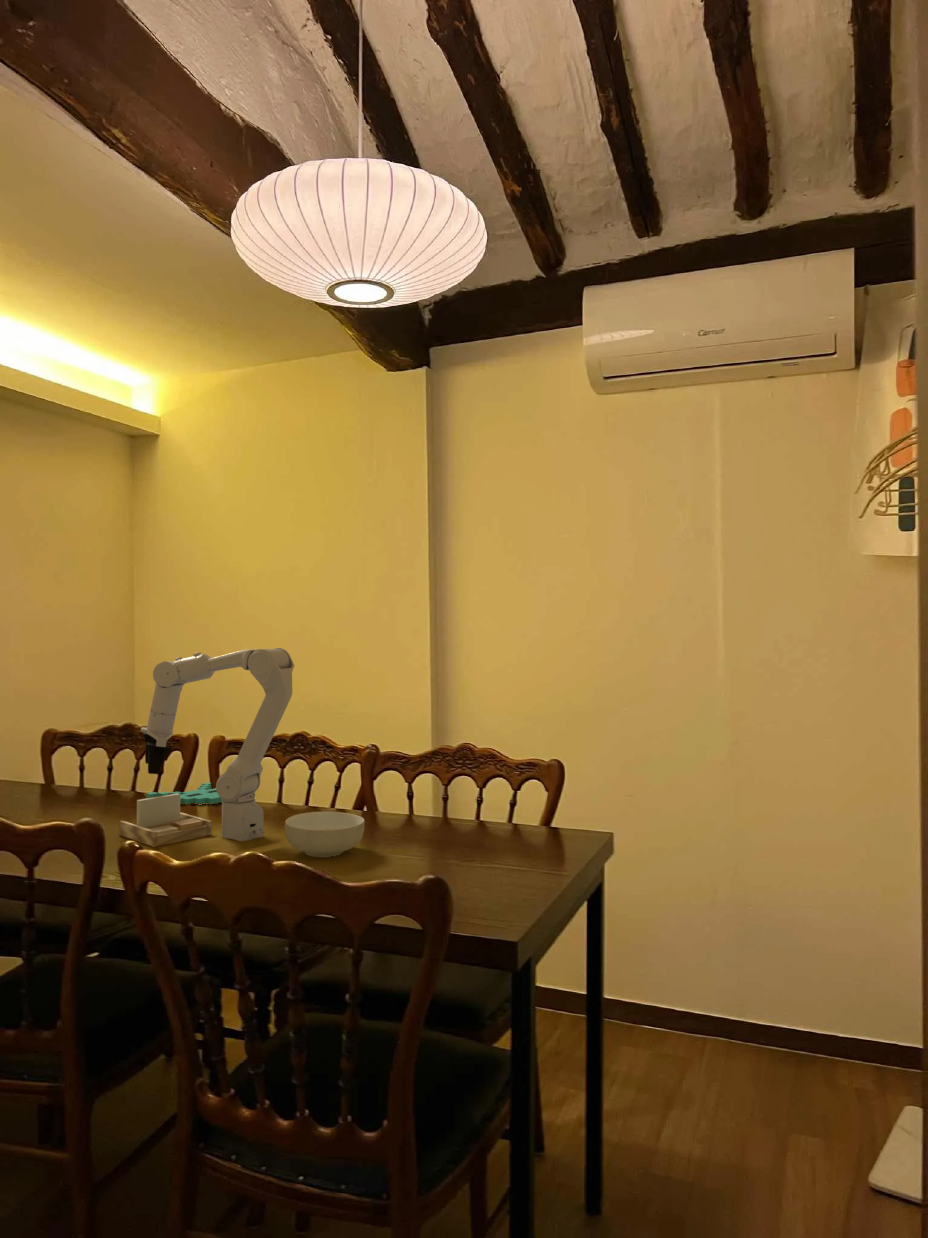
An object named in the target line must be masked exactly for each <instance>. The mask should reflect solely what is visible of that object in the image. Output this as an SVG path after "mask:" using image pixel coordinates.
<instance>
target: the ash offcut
mask: <svg viewBox="0 0 928 1238" xmlns="http://www.w3.org/2000/svg"><path fill="white" fill-rule="evenodd" d="M150 830H153V831H156V832H157V835H160V834H165V833H170V832H175V831H178V828H176V827H173V826H170V825H167V826H162V827H157V828H151V829H150Z"/></svg>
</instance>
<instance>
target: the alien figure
mask: <svg viewBox="0 0 928 1238" xmlns="http://www.w3.org/2000/svg"><path fill="white" fill-rule="evenodd" d="M211 783H212V782H203V783H201V785H199V787H197V789H195V790H188V791H183V792H181V791H173V792H172V791H171V792H170V791H169V792H168V791H162V792H156V791H155V792H154V791H152V792H146V798H145V799H147V798H153V797H159V796H165V795H171V794H177V793H178V794H180V804H182V803H183V804H191V803H197V804H203V803H209V804H214V803H219V802H221V797H220V796H219V795H218V793H217V790H216V787H215V788H213V789H212V788H211Z"/></svg>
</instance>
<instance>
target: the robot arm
mask: <svg viewBox="0 0 928 1238" xmlns="http://www.w3.org/2000/svg"><path fill="white" fill-rule="evenodd" d="M294 667H295V664H294V662H293V659H292V657H291V655H290V653H289V652H288V651H287V650H286V649H284V648H281V647H276V648H257V649H242V650H238V651H234V652H231V653H225V654H223V655H219V656H215V657H212V656H209V655H208V654H205V653H203V654H202V652H195V653H193V656H189V657H184V658H183V657H182V656H181V657H176V658H175V660H172V661H167V660H164V661H162V662H159V663H158V664H156V666H154V669H153V670H152V671H153V672H152V678H153V680H154V682H155V686H154V691H153V695H152V700H151V705H150V711H149V716H148V720H147V725H146V726H145V727H144V726H143V727H141V728H140V732H141V733H142V734H143V739H144V743H145V745H144V747H145V751H144V752H145V754H144V761H145V764H147V773H148V774H150V775H151V774H152V775H158V774H159V772H160V770H161V768H162V766H163V764H164V761H165V760H166V758H167V757H168V755H169V753H170V752H171V751H172V749H173V746H172V745H167V742H168V740H169V739H170V738H172V736H173V734H174V725H175V721H176V715H177V713H178V707H179V701H180V696H181V692H182V691H183V687H184V685H185V684H189V683H193V682H199V681H203V680H209V679H211V678H212V677H213V675H214V674H215V672H218V671H219V672H220V671H223V670H229V669H234V668H235V669H236V668H242V669H243V670H245V671H249V672H250V674H251V675H252V676H253V678H254V679H255V680H256V681H257V682H258V683H259V685H260V686H261V687H262V689H263V691H264V693H265V696H264V698H263V701H262V702H261V704H260V706H259V709H258V711H257V713H256V715H255V717H254V720H253V723H252V724H251V727H250V729H249V731H248V733H247V735H246V737H245V740H244V741H243V744H242V746H241V747H240V748H241V749H240V751H238V752H239V753H238V755H237V757H235V758H234V759H233V761H232V762H230V764H229V765H228V767H227V769H226V770H225V772H223V773H222V774H221V775H220V776H219V777H218V779H217V781H216V784H215V788H216V790H217V793H218V795H219V796H220V797H221V802H222V804H221V837H222V838H223V839H228V840H229V839H231V840H236V841H238V842H246V841H250V840H254V839H257V838H263V837H264V831H265V829H264V827H265V826H264V825H265V824H264V820H265V818H264V817H265V816H264V814H265V813H264V812H265V811H264V809H263V807H262V805H260V804H258V803H257V801H256V792H257V791H258V789H259V788H260V785H261V777H262V776H261V774H262V772H263V769H264V768H263V766H262V761H263V758H264V757H265V754H266V752H267V750H268V748H269V747H270V743H272V739H273V738H274V735H275V733H276V732H277V729H278V727H279V725H280V723H281V720H282V718H283V716H284V714H285V711H286V709H287V707H288V705H289V702H290V701H291V699H292V696H293V671H294Z"/></svg>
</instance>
